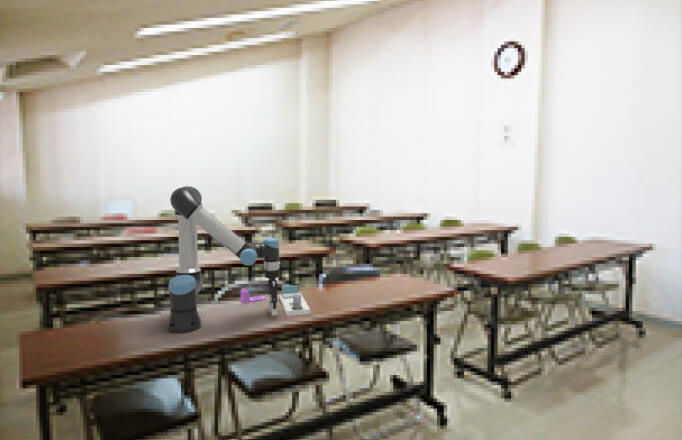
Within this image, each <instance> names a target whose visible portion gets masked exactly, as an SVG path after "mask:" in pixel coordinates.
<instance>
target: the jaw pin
mask: <svg viewBox="0 0 682 440" xmlns="http://www.w3.org/2000/svg"><path fill="white" fill-rule="evenodd" d="M274 300H276V299H274ZM270 301H272V297H271V296H269V295H268V312H269V313H268V314H269V316H273V315H272V304H271V303H270Z"/></svg>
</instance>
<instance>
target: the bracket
mask: <svg viewBox="0 0 682 440" xmlns="http://www.w3.org/2000/svg"><path fill="white" fill-rule="evenodd" d="M239 294H240V302H241V303H242V304H243V305H244V304H250V302H252V303H258V302H257V301H259V302H263V300H264V301H266V296H264V295H259V296H250V295H251V294H250V291H249V290H248V289H246V288H241V290H240V293H239Z"/></svg>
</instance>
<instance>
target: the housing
mask: <svg viewBox="0 0 682 440" xmlns="http://www.w3.org/2000/svg"><path fill="white" fill-rule="evenodd" d="M299 294H300V295H293V298H283V296H282V294H278V295H279V296H278V297H279V298H278V299H279V301H280V304H281V306H282V309H283V311H284V314H285V316H286V317H291V316H292V317H293V316H304V315H310V314H311V308H310V306H309V305H308V303H307V302H306V301H307V300H305V298H304V296H303V294H302V293H301V292H299Z"/></svg>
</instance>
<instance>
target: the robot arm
mask: <svg viewBox="0 0 682 440" xmlns="http://www.w3.org/2000/svg"><path fill="white" fill-rule="evenodd" d="M202 199H203V197H202V194H201V192H200V191H199V190H198V188H196V187H194V186H189V185H186V186H184V185H183V186H182V187H178V188H177V189H175V190H173V191H172V193H171V195H170V199H169V201H170V205H171V207H172V208H173V209H174V215H175V216H176V218H178V221H177V222H178V266H179V267H178V268H177V269H175V276H173V277H171V279H169V281H168V292H169V295H168V296H169V309H170V310H169V311H170V313H169V315H168V321H167V324H166V329H168V330H167V331H168V332H170V331H171V332H170V333H175V332H177V334H179V333H180V334H181V333H190V332H192V331H196V330H199V328H201V327H202V319H201V316H200V314H199V312H198V309H197V308H198V307H197V295H198V294H199V293H200V291H201V290H202V288H203V286H204V285H203V283H204V282H203V277H202V270H201V267H199V265H198V263H199V262H198V261H199V260H198V255H199V254H198V227H200V228H201V229H202V230H204V231H205V232H206V233H207V234H208V235H210V237H212V238H214V239H215V240H216V241H217V242H219V244H220V245H222V246H223V247H224V248H226V249H227V250H228V251H229V252H231V253H232V254H233V255H235V256H236V257H237V258H238V259H239V260H240V262H241V263H242V264H243V265H244V266H252V265H254V264H255V263H256V261H257V260H258V259H263V266H264V267H263V268H264V278H266V279H268V280H267V283H268V297H269V296H271V297H272V301H270V303H271V304H272V315H271V316H278V302H279V301H278V289H277V288H278V287H277V284H278V283H277V282H278V281H277V278H279V277H281V273H280V271H281V269H280V265H281V263H282V262H280V243H279V239H278V238H276V237H266V238H264V239H263V242H245V241H244V240H243V239H242V238H241V237H240V236H238V235H237V234H236V233H235V232H234V231H232V230H231V229H230V228H229V227H227V226H226V225H225V224H224V223H223V222H222V221H220V220H219V219H218V218H216V217H215V216H214V215H213V214H212V213H211V212H209V211H208V210H206V209H205V208H204V204H203V203H202V201H203V200H202ZM274 299H276V300H274Z"/></svg>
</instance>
